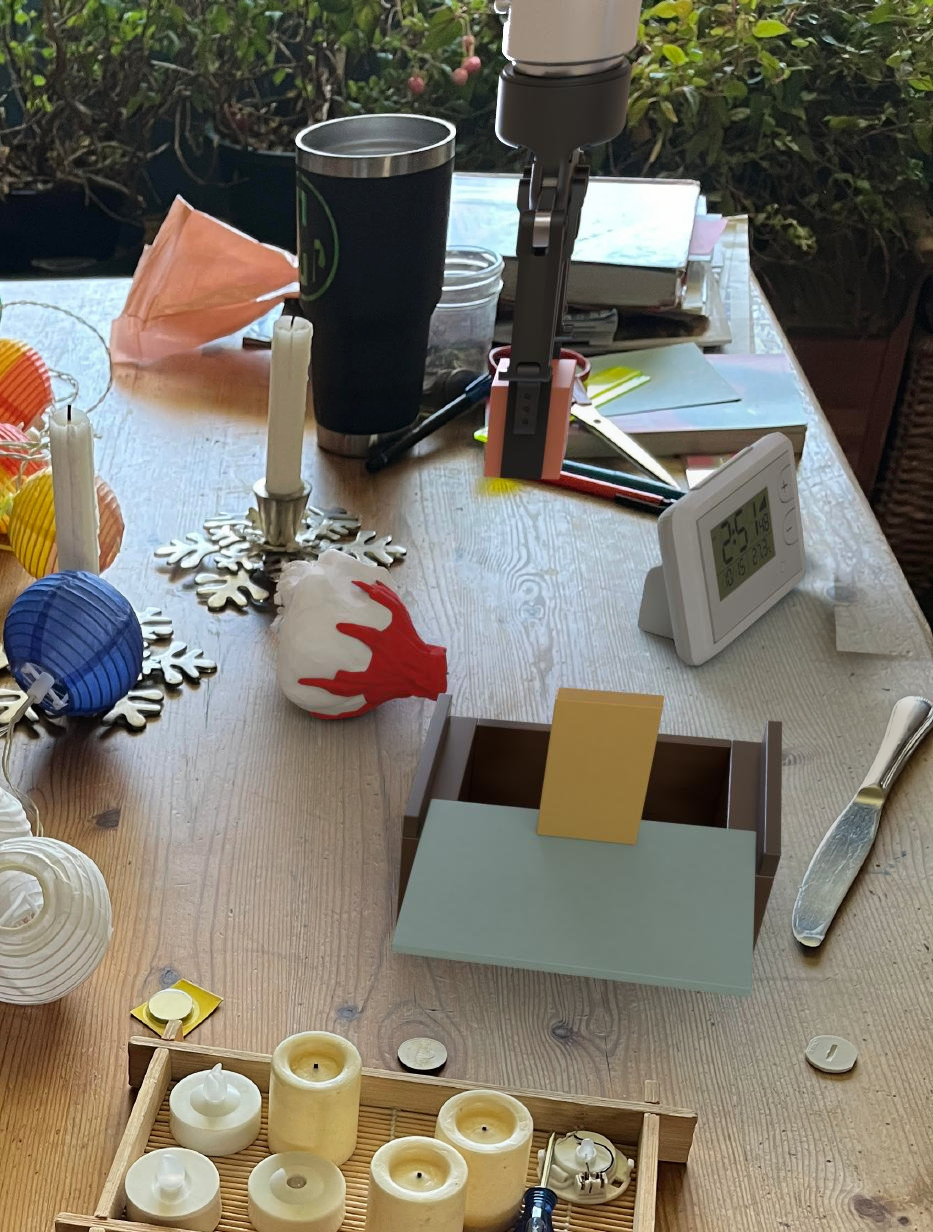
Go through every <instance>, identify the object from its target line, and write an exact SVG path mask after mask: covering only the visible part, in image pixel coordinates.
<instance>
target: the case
mask: <svg viewBox="0 0 933 1232" xmlns="http://www.w3.org/2000/svg"><path fill="white" fill-rule="evenodd" d="M453 696H454V695H453V694H452V693H445V694H444V693H439V695H438V699H437V702H436V701H435V706H434V709H433V713H432V716H431V719H430V723H429V726H428V730H427V733H426V736H425V741H424V743H423V747H422V750H421V753H420V757H419V761H418V764H417V767H416V771H415V774H414V778H413V782H412V785H411V788H410V792H409V795H408V799H407V802H406V804H405V805H406V806H405V809H404V813H403V817H402V818H403V819H402V830H401V831H402V832H401V847H400V859H399V862H400V863H399V876H398V889H397V891H398V892H397V903H396V905H397V906H396V918H395V919H396V921H395V926H396V925H397V921H398V918H399V914H400V911H401V907H402V903H403V900H404V896H405V892H406V889H407V885H408V881H409V878H410V874H411V870H412V867H413V863H414V859H415V856H416V852H417V848H418V845H419V841H420V837H421V834H422V830H423V826H424V823H425V819H426V816H427V812H428V808H429V805H430V801H431V799H438V800H448V801H458V802H468V803H477V804H487V805H497V806H507V807H517V808H527V809H537V810H540V803H541V796H542V789H543V782H544V775H545V768H546V761H547V754H548V747H549V740H550V733H551V726H552V723H544V722H543V723H542V722H532V721H522V720H509V719H498V718H486V717H474V716H463V715H462V716H461V715H453V714H452V707H453ZM764 727H765V728H764V731H763V736H762V739H761V741H750V740H749V741H748V740H738V739H732V740H731V739H728V738H717V737H704V736H695V735H694V736H693V735H682V734H671V733H670V734H669V733H659V732H658V736H657V741H656V746H655V751H654V756H653V761H652V766H651V771H650V776H649V781H648V786H647V791H646V796H645V801H644V807H643V812H642V817H641V820H646V821H656V822H666V823H676V824H685V825H695V826H705V827H715V828H725V829H735V830H745V831H755V832H756V861H755V897H754V933H753V954H754V953H755V949H756V946H757V942H758V939H759V936H760V932H761V928H762V925H763V922H764V917H765V914H766V910H767V907H768V903H769V899H770V896H771V894H772V893H771V892H772V889H773V885H774V881H775V879H776V878H775V877H776V874H777V872H778V868H779V864H780V861H781V857H782V812H783V811H782V810H783V809H782V805H783V803H782V800H783V799H782V797H783V795H782V794H783V792H782V791H783V721H780V720H766V724H765V726H764Z"/></svg>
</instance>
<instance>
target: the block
mask: <svg viewBox="0 0 933 1232" xmlns="http://www.w3.org/2000/svg"><path fill="white" fill-rule="evenodd" d="M509 360H510V357H509V358H508V357H507V358H506V357H502V358H500V360H499V363H498V366H497V369H496V372H495V375H494V379H493V381H492V384H491V389H490V399H489V411H488V421H487V422H488V423H487V433H486V434H487V435H486V446H485V455H484V456H485V457H484V468H483V477H484V478H485V477H486V478H500V472H501V461H502V450H503V439H504V428H505V417H506V407H507V396H508V385H509V381H498V373H499V371H500V370H507V366H509ZM577 364H578V359H568V358H567V359H566V358H565V359H564V358H563V359H561V358H560V359H552V363H551V366H552V367H553V372H552V375H553V381H552V390H551V399H550V408H549V417H548V426H547V435H546V444H545V453H544V462H543V471H542V477H541V479H540V480H560V477H561V473H562V470H563V469H562V468H563V464H564V460H565V455H566V452H567V446H568V438H569V428H570V422H571V413H572V404H573V397H574V388H575V380H576V372H577Z"/></svg>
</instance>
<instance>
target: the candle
mask: <svg viewBox="0 0 933 1232" xmlns="http://www.w3.org/2000/svg"><path fill="white" fill-rule="evenodd" d="M281 571H283V573H281V574H280V575H279V578H278V582H277V584H276V588H275V592H276V593H274V594H273V603H274V605H279V607H278V608H277V609H276V612H277V615H276V617H274V619H273V622H271V624H270V626H269V630H270V632H272V634H275V635H276V638H277V641H278V643H279V647H278V655H277V662H276V669H275V670H276V677H277V680H278V683H279V687H280V688H281V690H282V692H283V694H284V695H285V697H286V698H287V699H288V700H289V701H291V702H292V703H293V704H295V705H296V706H298V707H299V708H302V709H303V710H305V711H307V712H309V713H308V715H310V716H312V717H315V718H318V719H320V720H343V719H350V718H354V717H359V716H362V715H363V714H365V713H367V712H369V711H372V710H373V709H376V708H377V707H379V706H380V705H382V704H384V703H387V702H389V701H392V700H395V699H408V698H411V697H416V698H421V699H427V700H429V701H432V702H435V703H436V702H437V699H438V695H439V693H444V694H447V691H448V677H447V676H448V675H450V673H449V671H448V670H449V667H448V660H447V659H448V658H447V651H448V649H447V648H446V647H445V646H440V645H436V644H431V643H426V642H425V641H423V639H422V638H421V637H420V635H419V634H418V631H417V630H416V628H415V627H416V626H415V625H414V624H413V621H412V618H411V615H410V612H409V611H408V609H407V607H406V606H405V605H404V603H403V602H402V600H401V598H400V597H399V595H398V594H397V593H396V584H395V582H394V580H393V578H392V576H391V574H390V572H389V570H388V569H387V568H385V566H378V565H372V564H368V563H366V562H363V561H361V560H359V559H357V558H355V557H353V556H351V555H349V554H348V553H345V552H343V551H340V550H338V549H335V548H329V549H326V550H324V551H323V552H321V554H319V556H318V559H317V560H316V562H315V563H312V562H309V561H307V560H299V559H297V560H292V561H291V562H283V563H282V565H281Z"/></svg>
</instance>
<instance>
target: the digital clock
mask: <svg viewBox="0 0 933 1232" xmlns="http://www.w3.org/2000/svg"><path fill="white" fill-rule="evenodd" d="M796 469H797V468H796V461H795V453H794V447H793V442H792V440H791V439H790V438H789V437H787V436H786V435H785V434H783V433H782V432H780V431H776V432H772V433H768V434H767V435H763V436H762V437H761V438H760V439H758V440H757V441H755V442H753V443H752V444H750V445H748V446H746V447H744V448H743V449H742V450H740V451H738V453H736V454H734V455H733V456H732V457H730V459H728V460H727V461H725V462H724V463H723V464H722V465H720V466H719V467H717V468H716V469H715V470H714V471H712V472H711V473H710V474H708V475H707V476H706V477H704V478H703V479H701V480H700V481H698V482H697V483H696V484H695V485H694V486H692V487H691V488H689V491H688V492H687V493H685V494H684V495H682V496H681V497H680V498H678V499H677V500H676V501H675V502H673V503H672V504H671V505H670V506H668V507H667V508H666V509H665V510H664V511H663V512H662V513H660V515H659V516H658V519H657V522H656V523H657V524H656V529H657V538H658V545H659V551H660V558H661V560H660V561H658V562H657V563H656V564H654V565H653V566H652V567H651V568H649V570H648V571H647V574H646V576H645V580H644V585H643V589H642V595H641V602H640V607H639V613H638V619H637V627H638V628H639V630H643V631H645V632H646V633H647V632H648V633H650V634H651V633H652V634H654V635H657V636H660V637H664V638H666V639H667V638H668V639H671V640H674V645H675V651H676V653H677V656H678V657H679V659H680V660H681V661H682V662H683V663H684V664H686V665H688V666H701V665H703V664H704V663H706V662H707V661H709V660H710V659H712V658H713V657H714V656H716V655H718V654H719V653H720V652H721V651H723V650H724V649H725V648H726V647H728V646H729V645H730V644H731V643H732V642H733V641H734V640H736V639H737V638H738V637H739V636H740V635H741V634H742V633H744V632H745V630H747V629H748V628H749V627H751V625H753V624H754V623H755V622H756V621H757V620H759V619H760V618H761V617H762V616H763V615H765V613H767V612H768V611H769V610H770V609H771V608H772V607H773V606H775V605H776V604H777V603H778V602H780V600H782V599H783V598H784V597H785V596H786V595H788V593H790V591H792V590H793V589H794V588H795V587H796V586H797V585H798V584H800V582H801V581H802V580H803V579H804V578H805V577H806V573H807V558H806V548H805V541H804V531H803V522H802V513H801V506H800V497H799V496H800V495H799V487H798V479H797V470H796Z"/></svg>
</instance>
